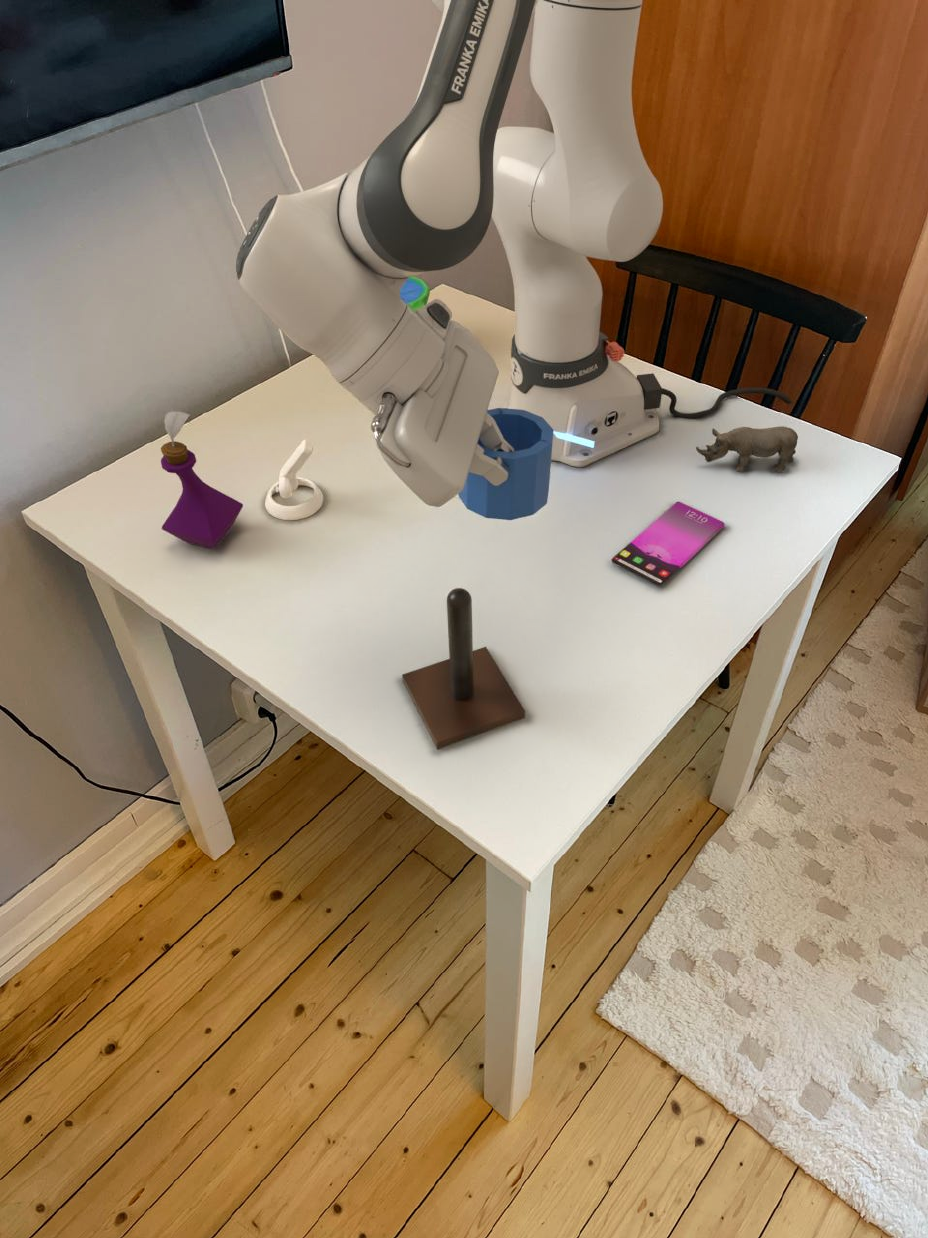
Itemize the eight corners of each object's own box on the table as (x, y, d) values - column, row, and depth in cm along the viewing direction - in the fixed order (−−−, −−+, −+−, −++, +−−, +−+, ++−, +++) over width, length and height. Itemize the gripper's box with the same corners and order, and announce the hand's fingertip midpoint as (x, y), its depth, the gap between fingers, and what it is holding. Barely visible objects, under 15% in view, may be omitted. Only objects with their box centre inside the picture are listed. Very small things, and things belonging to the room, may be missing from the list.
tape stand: (485, 653, 107) (485, 545, 96) (524, 717, 101) (529, 610, 89) (402, 681, 105) (391, 573, 93) (437, 749, 98) (429, 642, 87)
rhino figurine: (690, 455, 132) (696, 418, 128) (790, 455, 132) (801, 418, 127) (694, 474, 129) (701, 437, 125) (797, 473, 129) (808, 436, 124)
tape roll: (466, 464, 99) (466, 404, 94) (551, 472, 98) (556, 411, 93) (453, 515, 93) (453, 453, 88) (544, 523, 92) (549, 461, 87)
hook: (352, 488, 120) (302, 471, 116) (308, 539, 128) (259, 525, 124) (350, 443, 124) (301, 425, 120) (307, 496, 132) (260, 480, 128)
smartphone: (609, 564, 117) (610, 558, 116) (676, 503, 125) (677, 498, 124) (660, 590, 114) (660, 585, 113) (725, 526, 121) (726, 521, 121)
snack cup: (345, 339, 155) (338, 279, 148) (401, 320, 159) (396, 261, 152) (396, 382, 146) (391, 320, 139) (453, 360, 150) (451, 299, 143)
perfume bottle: (219, 561, 119) (185, 441, 106) (167, 548, 121) (128, 428, 108) (248, 523, 124) (220, 404, 111) (198, 511, 126) (164, 393, 113)
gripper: (391, 413, 74) (513, 524, 80) (444, 289, 88) (545, 391, 94) (342, 455, 78) (462, 558, 84) (400, 330, 92) (499, 425, 98)
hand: (506, 468), depth 89 cm, fingers closed on tape roll
